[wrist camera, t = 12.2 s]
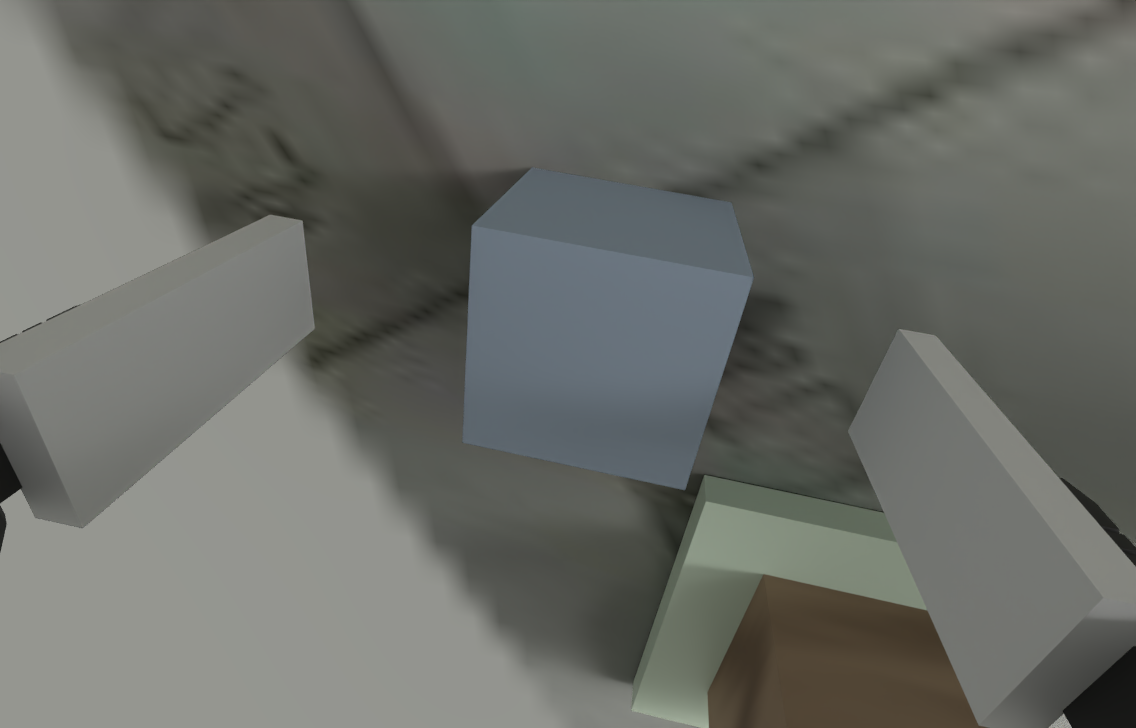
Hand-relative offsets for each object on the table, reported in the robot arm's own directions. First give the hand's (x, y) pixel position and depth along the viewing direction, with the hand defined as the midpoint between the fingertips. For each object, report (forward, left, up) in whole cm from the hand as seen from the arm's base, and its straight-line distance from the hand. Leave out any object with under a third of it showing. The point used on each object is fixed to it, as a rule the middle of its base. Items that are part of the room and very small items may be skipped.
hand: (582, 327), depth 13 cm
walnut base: (+12, +10, -2) cm, 16 cm away
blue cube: (0, 0, -3) cm, 3 cm away
